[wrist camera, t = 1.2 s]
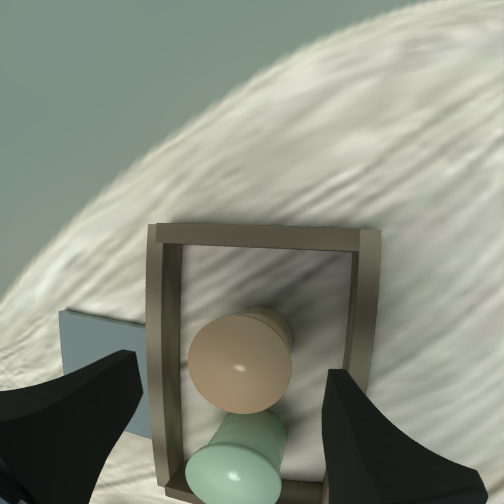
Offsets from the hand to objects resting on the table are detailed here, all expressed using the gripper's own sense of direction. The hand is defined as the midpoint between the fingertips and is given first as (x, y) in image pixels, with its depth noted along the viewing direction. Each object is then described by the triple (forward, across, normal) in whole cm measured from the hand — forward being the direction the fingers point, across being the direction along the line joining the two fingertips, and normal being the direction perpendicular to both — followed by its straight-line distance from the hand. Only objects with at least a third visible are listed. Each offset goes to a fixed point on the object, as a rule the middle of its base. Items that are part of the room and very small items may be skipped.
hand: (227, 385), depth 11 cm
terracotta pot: (+11, 0, +4) cm, 11 cm away
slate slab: (+10, +13, +9) cm, 19 cm away
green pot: (+9, 0, +12) cm, 15 cm away
